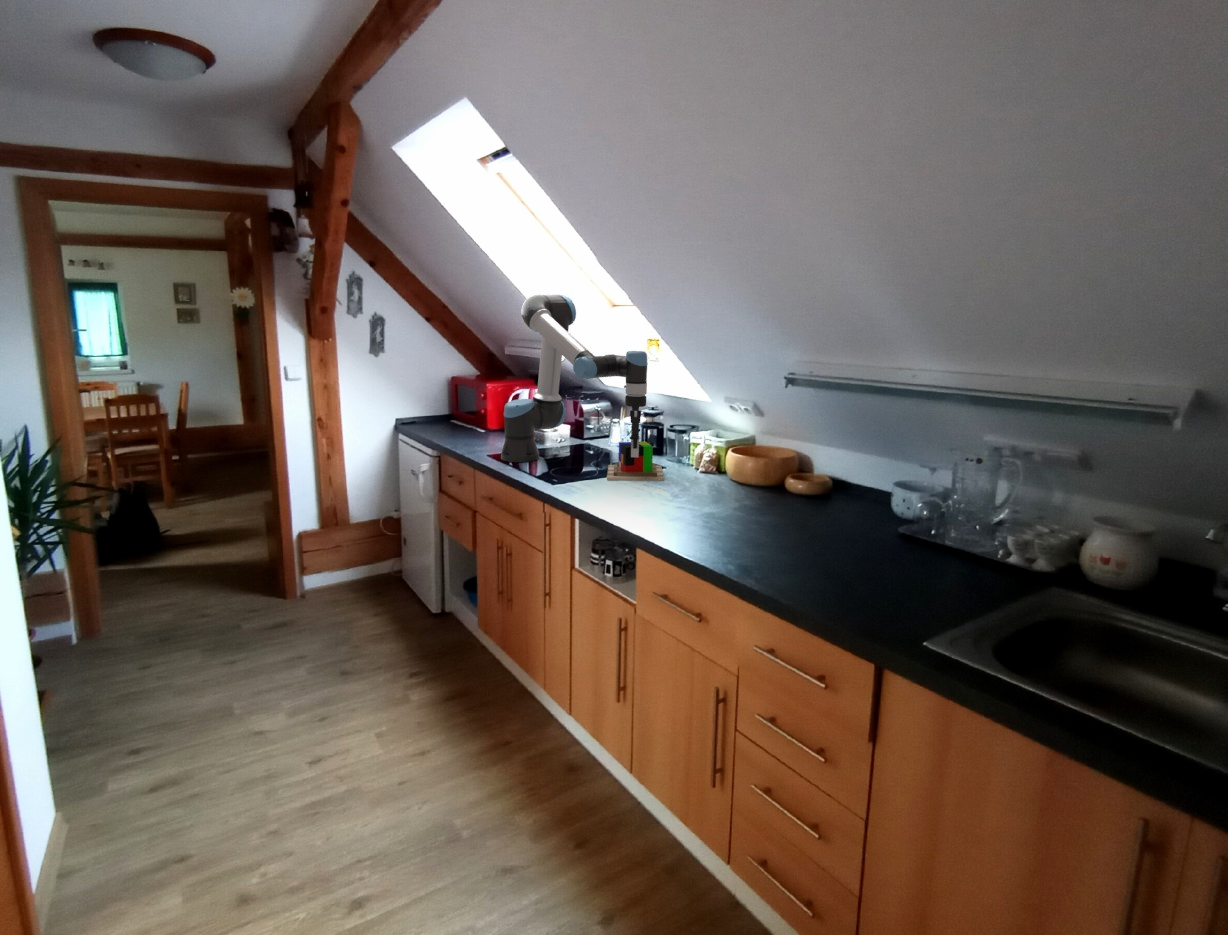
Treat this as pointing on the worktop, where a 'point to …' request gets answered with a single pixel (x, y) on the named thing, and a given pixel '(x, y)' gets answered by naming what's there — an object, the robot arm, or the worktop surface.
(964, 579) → the worktop surface
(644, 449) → the puzzle toy
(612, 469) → the locating board
